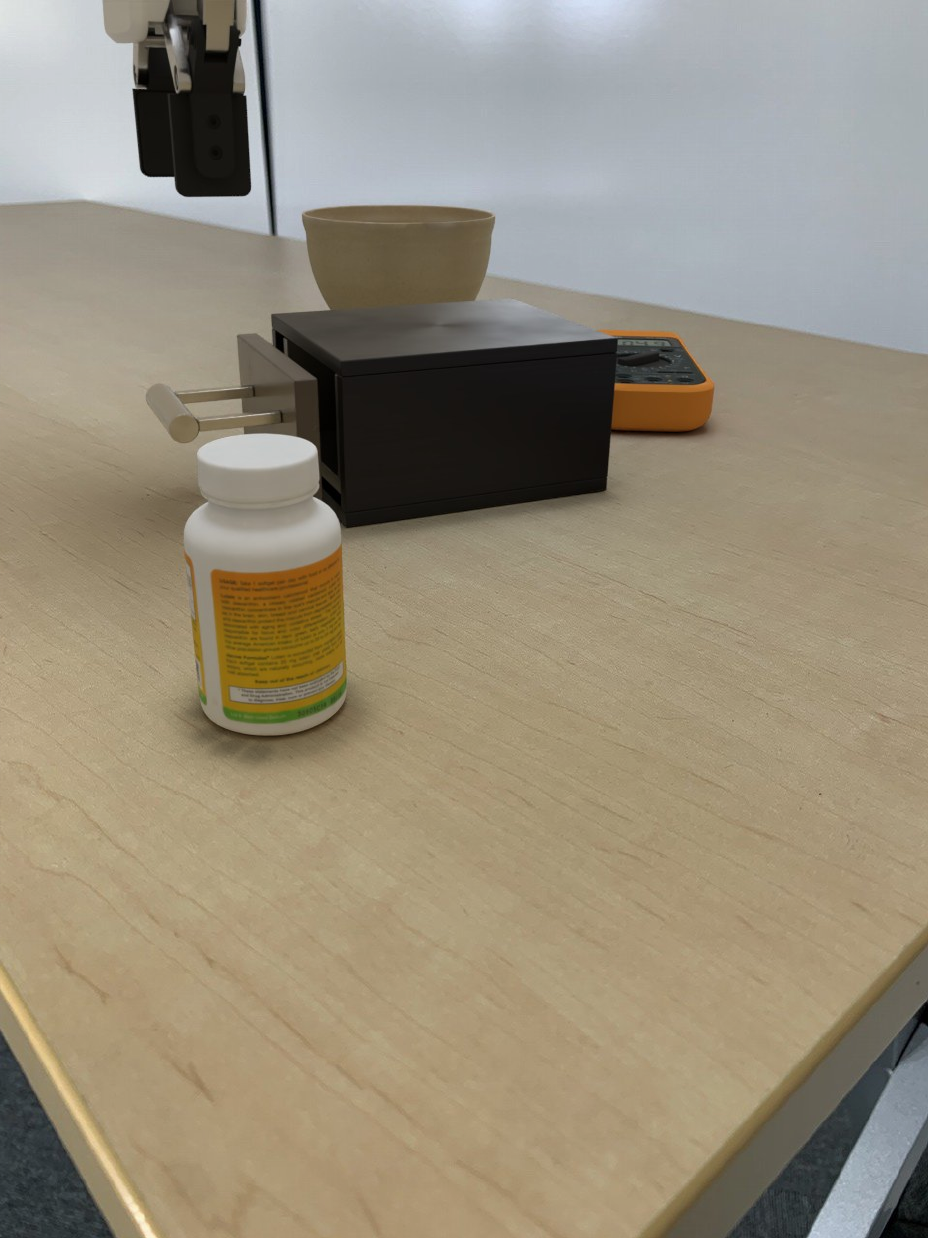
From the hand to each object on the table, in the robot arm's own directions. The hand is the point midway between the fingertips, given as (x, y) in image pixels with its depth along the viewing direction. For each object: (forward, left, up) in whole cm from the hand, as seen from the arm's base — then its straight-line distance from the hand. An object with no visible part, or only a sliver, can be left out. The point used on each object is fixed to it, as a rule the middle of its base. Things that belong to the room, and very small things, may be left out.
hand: (192, 185), depth 52 cm
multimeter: (+33, +11, -16) cm, 39 cm away
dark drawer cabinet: (+13, +1, -16) cm, 21 cm away
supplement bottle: (-3, -21, -16) cm, 27 cm away
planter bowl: (+24, +35, -16) cm, 46 cm away
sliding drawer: (+7, +1, -15) cm, 17 cm away
